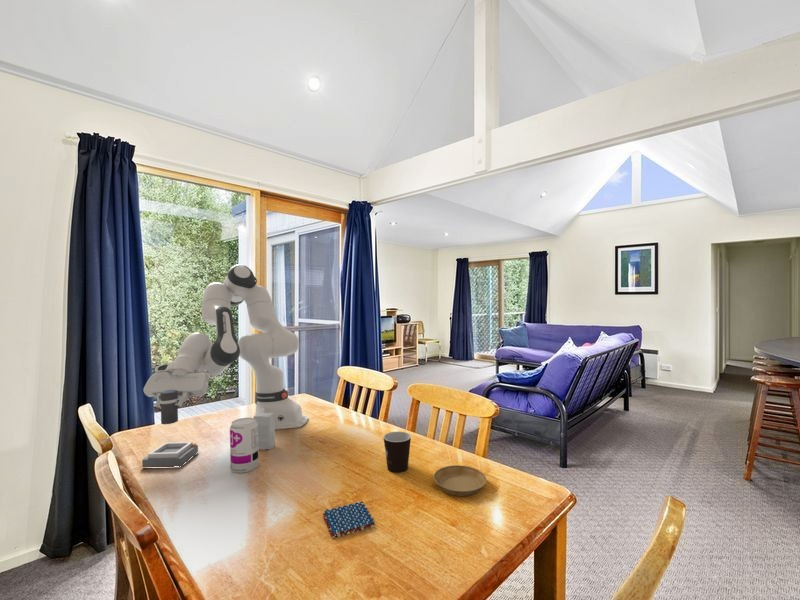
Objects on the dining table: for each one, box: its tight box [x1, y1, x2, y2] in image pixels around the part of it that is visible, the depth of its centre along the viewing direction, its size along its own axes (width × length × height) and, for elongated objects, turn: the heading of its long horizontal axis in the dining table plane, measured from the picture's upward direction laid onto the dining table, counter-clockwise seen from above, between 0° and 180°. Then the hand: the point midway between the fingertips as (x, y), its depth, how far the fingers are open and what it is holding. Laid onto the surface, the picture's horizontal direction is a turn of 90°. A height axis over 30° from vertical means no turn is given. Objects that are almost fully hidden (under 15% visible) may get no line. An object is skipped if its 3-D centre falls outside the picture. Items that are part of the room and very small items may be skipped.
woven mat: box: [322, 500, 376, 539], centre depth 90 cm, size 10×11×2 cm
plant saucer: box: [433, 464, 487, 497], centre depth 106 cm, size 15×15×3 cm
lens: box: [160, 390, 179, 425], centre depth 125 cm, size 5×5×10 cm
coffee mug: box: [383, 431, 412, 474], centre depth 118 cm, size 12×9×10 cm
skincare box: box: [253, 413, 276, 451], centre depth 135 cm, size 6×4×12 cm
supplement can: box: [229, 417, 260, 474], centre depth 119 cm, size 8×8×15 cm
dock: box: [141, 441, 199, 467], centre depth 125 cm, size 12×11×4 cm
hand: (168, 406), depth 124 cm, fingers closed on lens, 5 cm apart
